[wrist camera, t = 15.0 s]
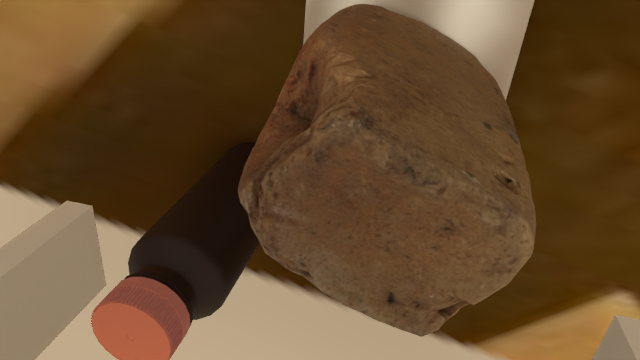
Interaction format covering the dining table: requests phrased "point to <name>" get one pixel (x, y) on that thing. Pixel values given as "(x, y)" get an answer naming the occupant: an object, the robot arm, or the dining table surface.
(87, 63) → the dining table surface
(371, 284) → the brown river rock
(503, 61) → the platform
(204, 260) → the bottle
